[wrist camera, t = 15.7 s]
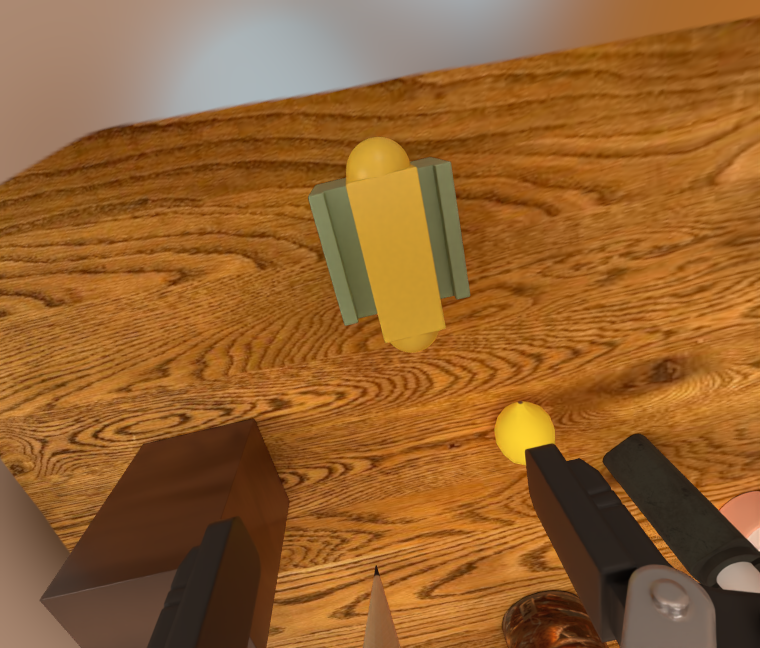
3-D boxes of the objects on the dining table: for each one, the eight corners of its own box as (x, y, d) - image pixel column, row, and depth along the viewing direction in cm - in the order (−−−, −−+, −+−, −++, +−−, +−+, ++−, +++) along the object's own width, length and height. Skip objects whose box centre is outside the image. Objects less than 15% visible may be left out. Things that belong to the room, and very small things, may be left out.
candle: (663, 454, 46) (977, 770, 23) (623, 482, 47) (884, 807, 24) (638, 429, 44) (950, 743, 21) (598, 459, 45) (852, 785, 23)
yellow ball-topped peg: (337, 145, 26) (335, 147, 22) (401, 129, 26) (410, 128, 22) (386, 343, 31) (391, 369, 28) (439, 330, 31) (450, 355, 28)
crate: (143, 444, 41) (38, 600, 27) (254, 418, 40) (206, 563, 27) (189, 524, 45) (120, 693, 31) (289, 501, 45) (264, 661, 31)
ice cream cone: (410, 564, 50) (433, 725, 36) (374, 588, 51) (384, 753, 38) (377, 541, 48) (389, 702, 34) (341, 567, 49) (339, 732, 36)
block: (315, 185, 32) (307, 196, 26) (430, 156, 32) (451, 161, 26) (345, 293, 36) (344, 326, 30) (449, 268, 36) (470, 296, 29)
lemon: (542, 436, 44) (567, 474, 39) (490, 447, 44) (508, 487, 39) (538, 380, 41) (564, 413, 36) (483, 392, 41) (502, 426, 36)
